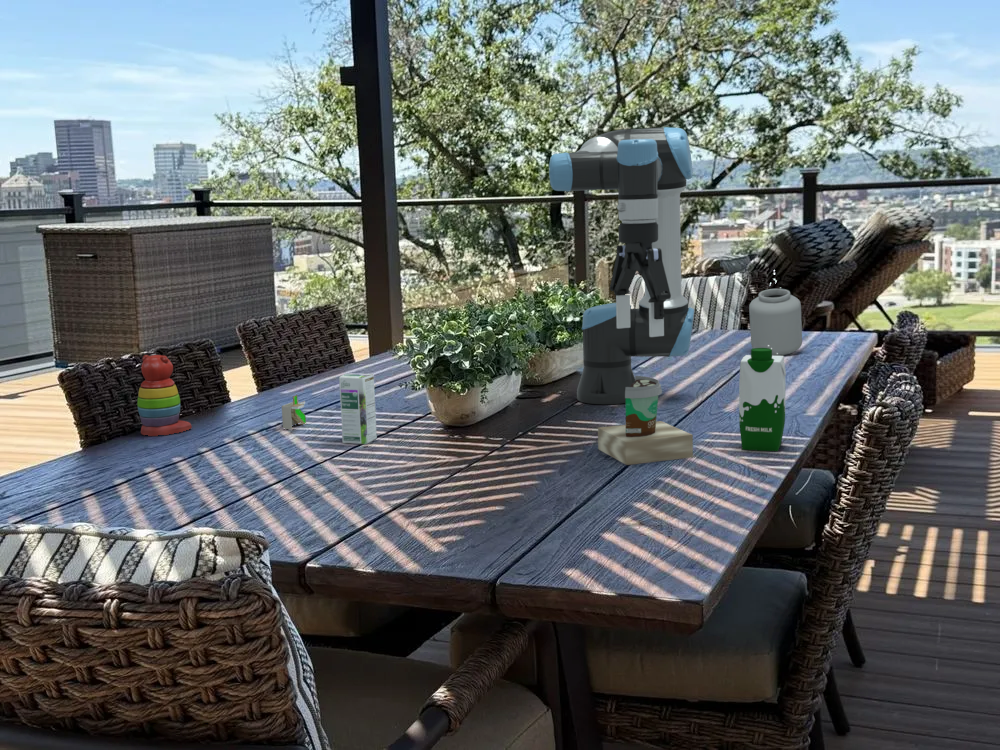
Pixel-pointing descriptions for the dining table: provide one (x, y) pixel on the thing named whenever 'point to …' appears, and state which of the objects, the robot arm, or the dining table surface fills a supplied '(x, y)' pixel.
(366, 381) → the syrup box
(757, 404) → the milk carton
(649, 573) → the dining table surface
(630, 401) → the food container
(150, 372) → the stacking bear
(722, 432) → the dining table surface
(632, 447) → the birch riser block
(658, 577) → the dining table surface
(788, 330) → the jar
